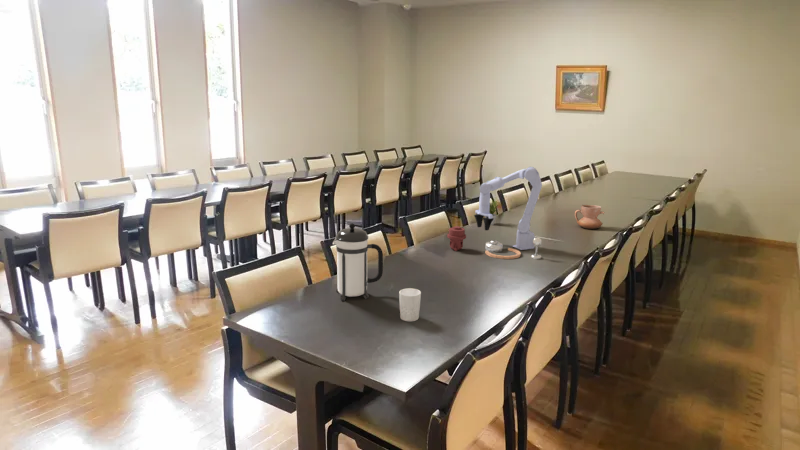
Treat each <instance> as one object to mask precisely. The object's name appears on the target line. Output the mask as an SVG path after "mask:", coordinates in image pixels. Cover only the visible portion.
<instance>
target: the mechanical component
mask: <svg viewBox="0 0 800 450" xmlns="http://www.w3.org/2000/svg"><path fill="white" fill-rule="evenodd" d="M465 231H466V230H465V228H463V227H461V226H459V225H457V226H456V225H455V226H453V227H450V228H449V229H448V233H447V235H446V237H447V238H448V239H449V247H450V249H451V250H453V251H454V252H457V251H459V250H463V247H464V240H465V239H467V234H466V232H465Z"/></svg>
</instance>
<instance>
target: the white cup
mask: <svg viewBox="0 0 800 450" xmlns="http://www.w3.org/2000/svg"><path fill="white" fill-rule="evenodd" d="M398 296H399V301H398V302H399V303H398V304H399V312H400V313H399V317H400V319H401V320H402V321H405V322H415V321H418V319H419V318H420V309H421V297H422V291H421V290H419V289H417V288H411V287H409V288H403V289H400V290H399V292H398Z"/></svg>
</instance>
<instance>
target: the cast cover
mask: <svg viewBox="0 0 800 450" xmlns="http://www.w3.org/2000/svg"><path fill="white" fill-rule="evenodd" d="M503 245H504V244H503V243H502V242H499V240H495V239H491V240H490V241H486V242H485V251H489V252H490V253H500V252H503V247H504V246H503Z"/></svg>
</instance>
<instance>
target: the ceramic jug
mask: <svg viewBox="0 0 800 450" xmlns="http://www.w3.org/2000/svg"><path fill="white" fill-rule="evenodd" d="M601 210H602V206H600V205H595V204H582V205H580V209H577V210H575V211H574V217H575V220H576V223H577V225H578V226H579V227H581V228H583V229H588V230H593V229H594V230H595V229H599V228H600V227H602V226H603V222H602V221H601V220H600V219H598V216H600V215H601V214H603V215H605V212H604V211H601ZM578 213H581V215H582V217H581V218H580V219H579V218H578Z"/></svg>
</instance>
